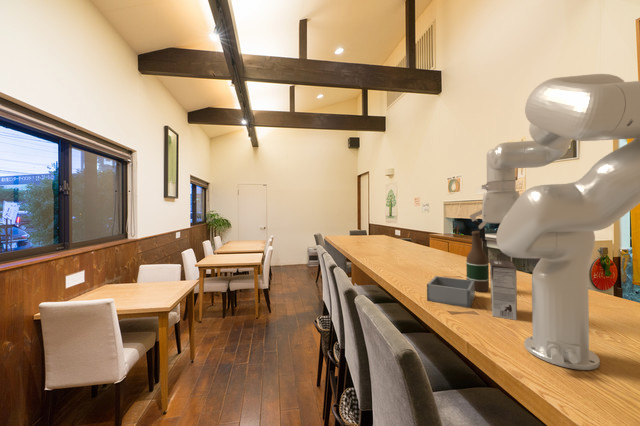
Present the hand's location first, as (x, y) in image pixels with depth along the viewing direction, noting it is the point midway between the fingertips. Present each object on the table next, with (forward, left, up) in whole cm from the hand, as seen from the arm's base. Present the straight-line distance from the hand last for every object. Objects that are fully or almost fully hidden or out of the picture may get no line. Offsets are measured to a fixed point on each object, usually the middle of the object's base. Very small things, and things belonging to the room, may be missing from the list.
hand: (501, 241), depth 83 cm
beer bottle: (+23, +9, -23) cm, 34 cm away
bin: (+6, +16, -23) cm, 28 cm away
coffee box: (0, 0, -23) cm, 23 cm away
